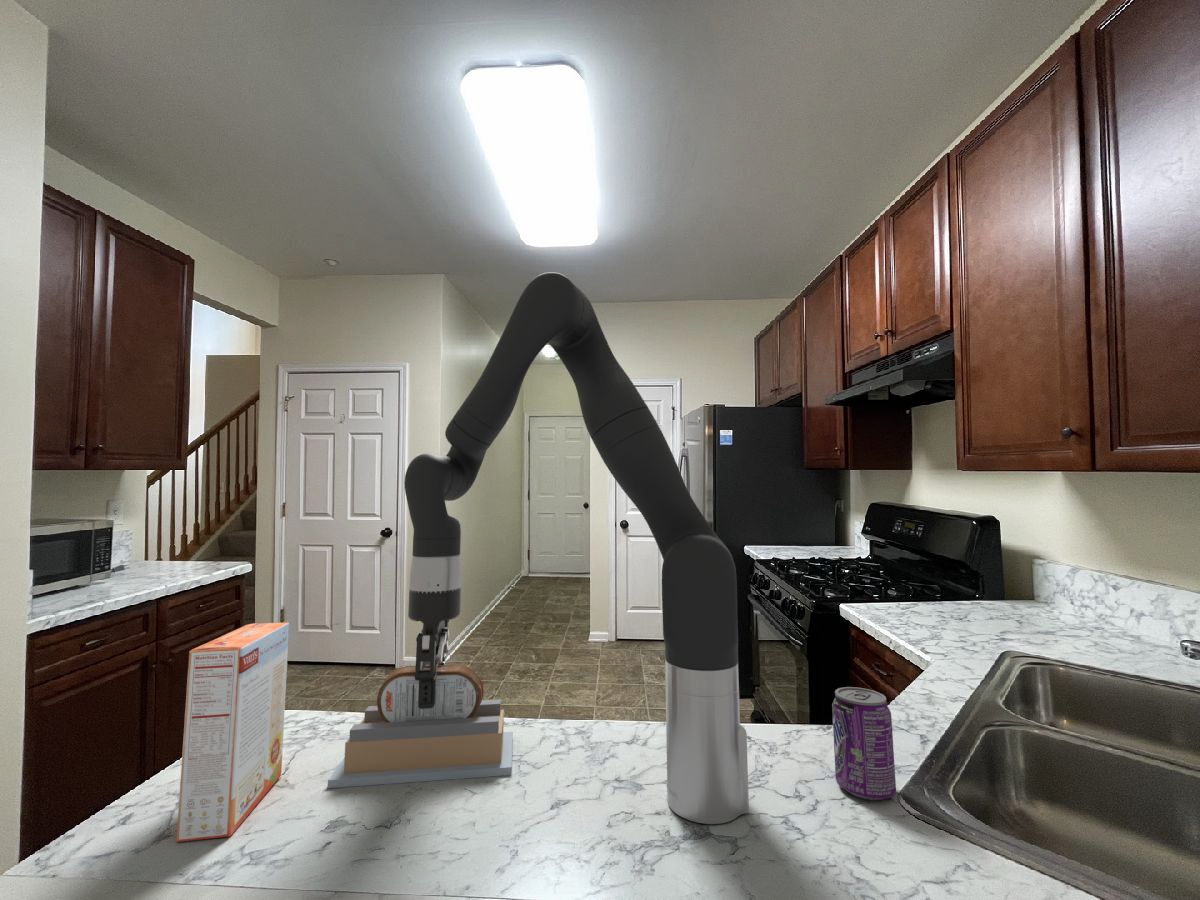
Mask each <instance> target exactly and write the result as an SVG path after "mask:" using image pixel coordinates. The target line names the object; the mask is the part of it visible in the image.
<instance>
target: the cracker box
mask: <svg viewBox="0 0 1200 900" xmlns="http://www.w3.org/2000/svg"><path fill="white" fill-rule="evenodd" d="M289 631H290V622H260V623H259V622H258V623H249V624H245V625H243V626H241V627H239V628H237V629H235V630H231V631H230V632H227V633H225V634H223V635H221V636H220V637H218V638H215V639H212V640H210V641H208V642H206V643H204V644H202V645H199V646H197V647H195V648H192V649H191V650H189V652H188V665H187V668H188V669H187V678H186V679H187V681H186V682H187V683H186V696H185V697H186V699H185V711H184V724H183V725H184V727H183V739H182V740H183V741H182V754H181V755H182V756H181V765H180V766H181V769H180V783H179V799H178V811H177V812H178V813H177V814H178V815H177V825H176V826H177V827H176V842H177V843H181V842H191V841H200V840H209V839H218V838H227V837H229V838H230V837H231V836H232V835H234V832H236V830H237V829H238V828H239V827H240V826H241V824H242V823H243V822H244V821H245V820H246V819H247V817H248V816H249V815H250V813H251V812H252V811H253V809H255V808H256V806H257V805H258V804H259V803H260V801H261V800H262V799H263V798H264V797H265V795H267V794H268V792H269V791H270V789H271V788H272V787H273V786H274V785H275V783H277V781H278V780H279V779H280V778H281V777H282V766H283V748H284V729H285V728H284V727H285V726H284V725H285V708H286V688H287V674H288V673H287V671H288V670H287V669H288V654H289V652H288V650H289V648H288V647H289Z"/></svg>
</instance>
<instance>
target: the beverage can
mask: <svg viewBox="0 0 1200 900" xmlns="http://www.w3.org/2000/svg"><path fill="white" fill-rule="evenodd" d="M834 695H835V697H834V699H833V701H832V703H831V709H832V710H831V712H832V730H833V751H834V753H833V754H834V769H835V770H834V773H835V775H834V776H835V781H836V783H837V785H838V786H839V787H840V788H842V789H843V790H845V791H847V792H848V793H849V794H851V795H853V796H855V797H857V798H859V799H863V800H868V801H881V800H885V799H889V798H892V797H894V796H895V795H896V793H897V784H896V783H897V781H896V768H895V767H896V766H895V752H894V751H895V750H894V738H893V736H894V734H893V721H892V720H893V719H892V712H891V710H890V708H889V706H888V704H887V697H886V696H885V695H884V694H883V693H880V692H878V691H876V690H872V689H868V688H864V687H863V688H862V687H854V686H853V687H852V686H845V687H838V688H837V689H835V691H834Z"/></svg>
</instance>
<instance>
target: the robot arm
mask: <svg viewBox="0 0 1200 900" xmlns="http://www.w3.org/2000/svg"><path fill="white" fill-rule="evenodd" d="M547 344H548V345H549V346H550V347H551V348H552V349H553V350H554V352H555V353H556V354H557V357H558V358H559V359H560V360H561V361H562V363H563V365H564V367H565V368H566V370H567V372H568V373H569V375H570V378H571V379H572V381H573V383H574V387H575V389H576V391H577V392H576V393H577V397H578V401H579V406H580V407H579V408H580V411H581V415H582V419H583V421H584V424H585V429H587V433H588V434H589V437H590V439H591V440H592V443H593V444H594V446H595V448H596V450H597V452H598V454H599V456H600V458H601V460H602V461H603V463H604V465H605V466H606V468H607V469H608V471H609V473H610V474H611V476H612V477H613V478H614V479H615V481H616V483H617V484H618V486H619V487H620V488H621V489H622V491H623V492H624V494H625V495H626V496H627V497H628V498H629V500H630V501H631V502H632V504H633V505H634V506H635V507H636V508H637V510H638V511H639V513H640V514H641V515H642V516H643V518H644V520H645V522H646V524H647V526H648V528H649V530H650V531H651V534H652V536H653V538H654V540H655V543H656V545H657V547H658V549H659V552H660V555H661V556H662V559H663V561H662V566H661V567H662V568H661V605H662V606H661V609H662V612H661V613H662V636H663V640H664V641H663V642H664V656H665V658H664V660H665V661H664V662H665V664H664V665H665V670H664V671H665V720H666V721H665V725H666V727H665V729H666V730H665V731H666V732H665V734H666V735H665V736H666V737H665V738H666V794H667V804H668V807H669V808H670V809H671V810H672V812H674V813H675V814H676V815H677V816H679V817H681V818H683V819H685V820H688V821H691V822H695V823H700V824H704V825H705V824H706V825H717V824H718V825H719V824H724V823H729V822H732V821H733V820H735V819H737V818H738V817H740V816H741V815H744V814H746V815H747V814H749V813H750V799H749V770H748V768H749V766H748V744H747V743H748V739H747V738H748V736H747V734H748V733H747V730H746V728H745V727H743V725H742V724H741V716H740V712H741V711H740V686H739V685H740V684H739V683H740V682H739V628H738V623H739V622H738V586H737V585H738V584H737V583H738V582H737V579H738V578H737V568H736V563H735V561H734V558H733V555H732V554H731V551H730V550H729V548H728V547H727V546H726V545H725V543H724V542H723V541H722V540H721V539H720V537H719V536H718V535H717V534H716V532H715V530H714V529H713V527H712V526H711V524H709V523H708V520H707V519H706V518H705V517H704V515H703V513H702V512H701V510H700V509H699V507H698V506H697V505H696V503H695V501H694V499H693V497H692V495H691V494H690V493H689V490H688V488H687V486H686V484H685V481H684V478H683V477H682V473H681V471H680V468H679V466H678V464H677V462H676V459H675V457H674V455H673V453H672V450H671V448H670V446H669V443H668V442H667V439H666V437H665V436H664V434H663V431H662V429H661V427H660V425H659V424H658V422H657V421H656V419H655V417H654V415H653V413H652V412H651V410H650V408H649V407H648V405H647V404H646V401H645V400H644V399H643V397H642V395H641V394H640V392H639V390H638V388H637V387H636V385H635V384H634V383H633V382H632V380H631V379H630V377H629V375H628V374H627V373H626V371H625V370H624V369H623V367H622V366H621V365H620V363H619V361H618V360H617V359H616V357H615V355H614V353H613V351H612V349H611V347H610V345H609V343H608V340H607V338H606V336H605V334H604V332H603V330H602V326H601V324H600V322H599V320H598V317H597V314H596V312H595V309H594V308H593V305H592V303H591V301H590V300H589V298H588V296H587V294H585V293H584V292H582V290H581V289H580V288H579V287H578V286H577V285H576V284H575V283H574V282H573V281H572V280H571V279H570V278H569V277H567V276H566V275H564V274H562V273H560V272H556V271H555V272H554V271H553V272H552V271H550V272H549V271H548V272H544V273H542V274H539V275H537V276H535V277H534V278H533V279H532V280H531V281H529V282H528V284H527V285H526V287H524V289H523V291H522V293H521V294H520V296H519V299H518V301H517V303H516V305H515V307H514V308H513V311H512V312H511V315H510V317H509V319H508V321H507V323H506V326H505V328H504V330H503V332H502V334H501V336H500V338H499V340H498V342H497V344H496V346H495V348H494V350H493V352H492V355H491V356H490V358H489V360H488V362H487V363H486V366H485V368H484V369H483V371H482V373H481V376H480V377H479V378H478V379H477V382H476V383H475V385H474V387H472V390H471V391H470V393H469V394H468V395H467V397H466V398H465V399H464V401H463V403H462V404H461V406H459V408H458V410H457V411H456V413H455V414H454V415H453V417H452V419H450V422H449V423H448V424H447V427H446V429H445V433H444V434H445V438H446V441H447V442H448V443H449V444H450V445H451V446H450V449H449V450H448V453H447V454H446V455H440V454H435V453H434V454H433V453H432V454H431V453H422V454H420V455H417V456H415V457H414V458H413V459H412V460H411V462H409V464H408V466H407V469H406V472H405V475H404V493H405V496H406V502H407V507H408V512H409V516H410V520H411V524H412V526H413V527H412V529H413V536H412V555H411V556H412V557H411V564H410V570H409V583H408V584H409V588H408V612H407V613H408V614H407V616H408V617H407V618H409V620H411V621H414V622H421V623H422V629H421V632H419V633H418V634H417V636H416V639H415V640H416V650H415V651H416V652H415V666H416V668H415V675H414V677H415V680H418V681H419V693H418V707H419V708H420V709H428V708H433V707H434V705H435V691H436V678H437V668H438V665H445V662H446V660H447V658H448V657H447V655H448V653H449V637H450V628H449V623H450V620H451V621H452V620H454V619H456V618H458V617H459V616H460V614H461V595H462V563H461V562H462V561H461V539H462V538H461V537H462V536H461V534H462V530H461V529H462V528H461V523H460V521H459V520H458V519H457V518H456V517H453V516H452V515H451V516H450V515H449V514H448V510H447V506H446V502H448V501H449V502H452V501H456V500H458V499H460V498H462V497H463V496H464V495H466V493H468V491H469V490H470V489H471V488H472V487H473V484H474V483H475V481H476V479H477V477H478V474H479V471H480V469H481V467H482V464H483V461H484V459H485V456H486V453H487V451H488V449H489V448H490V447H491V446H492V444H493V442H494V441H495V439H497V437H498V436H499V434H500V432H501V431H502V430H503V428H504V427H505V426H506V424H507V422H508V420H509V419H510V417H511V415H512V413H513V411H514V409H515V406H516V404H517V401H518V398H519V395H520V391H521V388H522V384H523V382H524V379H525V377H526V376H527V373H528V370H529V369H530V367H531V365H532V363H533V362H534V361H535V359H536V357H538V355H539V354H540V353H541V351H542V350H543V349H544V348H545V346H547ZM425 665H430V670H423V668H424V666H425Z"/></svg>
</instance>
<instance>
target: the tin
mask: <svg viewBox="0 0 1200 900" xmlns="http://www.w3.org/2000/svg"><path fill="white" fill-rule="evenodd" d="M415 668H416V665H405V666H401V667H399V668H396V669H394V670H393V671H392V672H390V673H389V674H388V675H387V677H386V678H385V679H384V680H383V682H382V685H381V686H380V688H379V690H378V693H377V696H376V706H377V707H378V712H379V714H380V716H381V717H382V719H383V720H384V721H385V722H403V721H421V720H438V719H456V718H472V717H473V716H474V715H475V714H476V712H477V710H478V708H479V706H480V704H481V701H482V700H483V698H484V686H483V682H482V680H481V677H480V676H479V673H477V672H476V671H475V670H474V669H472V668H471V667H469V666H467V665H463V664H444V665H438V668H437V678H436V691H435V705H434V707H433V708H428V709H420V708H419V707H418V693H419V681H418V680H415V677H414V675H415ZM423 670H430V665H425V666H424V668H423Z"/></svg>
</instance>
